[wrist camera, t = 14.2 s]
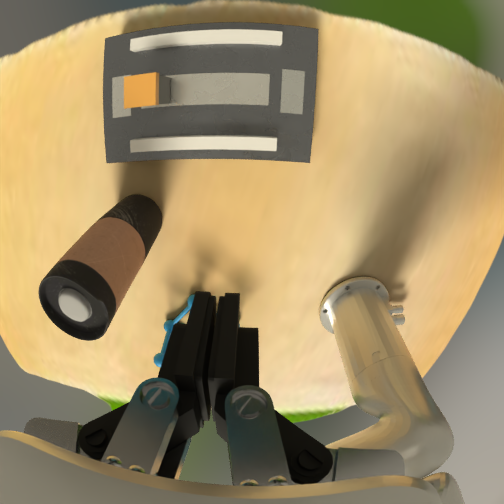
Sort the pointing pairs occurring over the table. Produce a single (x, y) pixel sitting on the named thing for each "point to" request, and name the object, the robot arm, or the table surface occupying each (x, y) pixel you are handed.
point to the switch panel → (214, 92)
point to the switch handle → (146, 90)
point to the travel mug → (100, 268)
